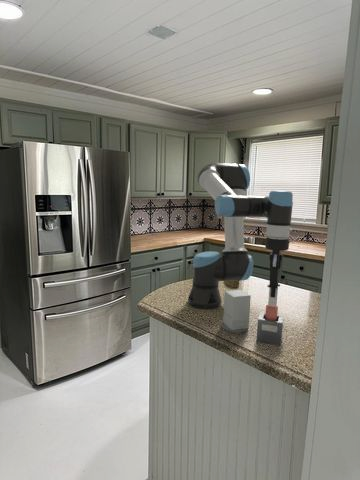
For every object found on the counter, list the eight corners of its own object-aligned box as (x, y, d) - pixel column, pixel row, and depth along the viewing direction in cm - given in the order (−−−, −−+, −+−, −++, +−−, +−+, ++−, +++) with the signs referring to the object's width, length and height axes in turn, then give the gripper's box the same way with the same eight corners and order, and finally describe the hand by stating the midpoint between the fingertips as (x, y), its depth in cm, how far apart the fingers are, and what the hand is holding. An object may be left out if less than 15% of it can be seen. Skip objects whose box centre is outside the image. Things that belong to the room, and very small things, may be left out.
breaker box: (256, 341, 110) (257, 319, 109) (259, 332, 117) (260, 312, 116) (280, 345, 108) (282, 323, 106) (281, 337, 114) (283, 315, 113)
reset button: (263, 325, 110) (265, 307, 109) (265, 321, 114) (266, 303, 113) (275, 328, 109) (277, 309, 108) (276, 323, 113) (278, 305, 112)
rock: (244, 284, 169) (243, 277, 178) (235, 272, 167) (234, 265, 177) (227, 294, 172) (227, 286, 181) (218, 282, 170) (218, 275, 180)
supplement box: (249, 328, 118) (251, 295, 116) (231, 330, 116) (233, 297, 114) (239, 320, 125) (241, 289, 123) (222, 322, 123) (224, 290, 121)
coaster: (218, 330, 118) (218, 328, 118) (224, 320, 127) (225, 318, 127) (245, 335, 114) (246, 333, 114) (250, 325, 124) (250, 322, 123)
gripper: (288, 241, 99) (282, 313, 103) (290, 236, 111) (284, 301, 115) (263, 239, 102) (258, 309, 106) (268, 234, 114) (263, 298, 118)
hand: (272, 305), depth 110 cm, fingers closed
